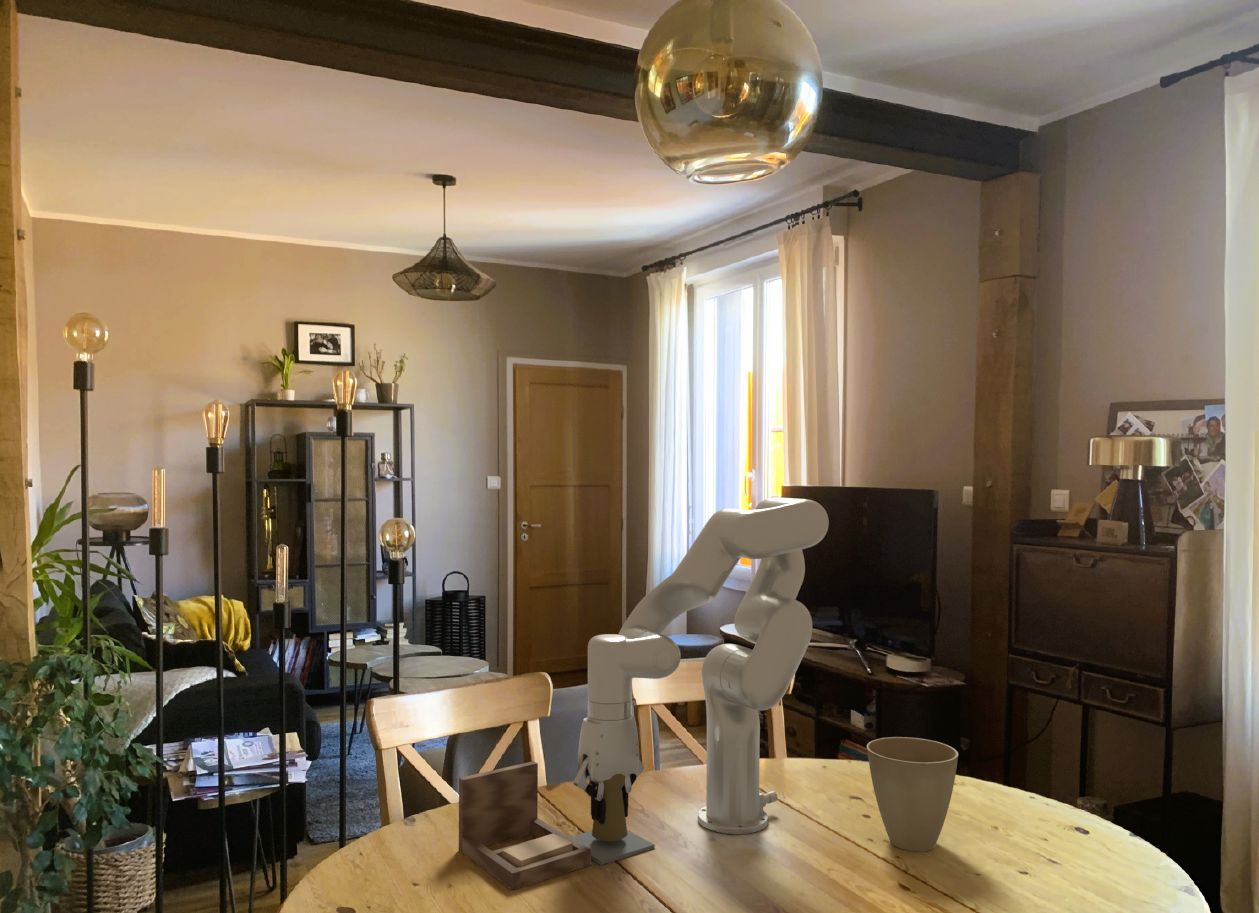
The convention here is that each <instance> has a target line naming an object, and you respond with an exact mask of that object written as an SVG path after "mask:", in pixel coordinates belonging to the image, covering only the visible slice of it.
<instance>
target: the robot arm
mask: <svg viewBox="0 0 1259 913" xmlns="http://www.w3.org/2000/svg"><path fill="white" fill-rule="evenodd" d="M829 521H830V520H829V517H828V513H827V510H826V509H825V508H824V507H823V506H822V505H821V503H819V502H817V501H814V500H812V499H807V498H794V497H793V498H791V497H770V498H766V499H764V500H761V501H760V502H758V504H757V506H756V507H755V509H739V508H723V509H720V510H717V511H715V513H713V514H712V515H711V517H710V518H709V519H708V521H706V522H705V524H704V527H703V528H702V529H701V531H700V532H699V534H698V535H697V537H696V538H695V540H694V542H693V543H692V545H691V546H690V548H689V549H688V551H686V554H685V556H684V557H683V558H682V560H681V561H680V563H679V564H678V566H676V568H675V570H674V571H673V572H672V573H671V574H670V575H668V577H666V578H664V579H663V580H662V581H660V583H659V584H657V586H656V587H654V588H652V590H651V591H649V592H648V593H647V594H646V595H645V596H644V597H643V598H642V599H641V600H640V601H639V602H638V603H637V605H635V607H634V609H633V610H632V611H631V613H630V614H629V616H628V617H627V619H626V620H625V622H624V623H623V625H622V626H621V628H620V630H619V632H618V634H615V633H612V634H610V633H608V634H607V633H605V634H604V633H603V634H597V635H595V636H593V637H591V638H590V639H589V641H588V644H587V717H585V718H583V720H582V724H581V728H580V732H579V741H578V752H577V753H578V754H577V774H576V776H575V779H574V780H573V785H574V786H575V787H577V788H579V789H581V790H582V791H583V792H585V793H586V794H587V796H588V797H590V816H591V820H592V821H595V820H597V821H598V822H599V823H600V824H604V823H605V813H606V801H605V800H604V799H602V798H603V791H604V781H606V780H609V779H610V778H611V777H612V776H614V775H616V774H622V775H624V776H625V783H624V786H623V787H622V795H623V803H624V811H625V818H627V817H628V816H629V794H630V793H631V792H632V787H633V785H634V783H635V782H636V780H637V779H638V778H637V777H639V776H640V775H641V774H642V772H644V770H645V766H644V764H643V763H642V761H641V760H640V748H639V746H640V745H639V735H638V726H637V722H636V717H635V715H634V714H633V707H634V706H636V705H637V699H636V698H635V697H633V679H651V680H658V679H664V678H667V677H669V676H671V675H672V674H673V673H675V672H676V670H677V669H678V668H679V666H680V663H681V655H682V654H681V649H680V647H679V646H678V644H677V642H675V641H674V640H673V639H672V638H670V637H669V636H667V635H665V634H663V633H665V632H664V631H665V630H666V629H667V628H669V627H668V626H670V624H671V623H673V621H675V620H676V619H677V618H678V617H680V616H681V615H682V614H684V613H686V612H688V611H691V610H694V609H696V608H700V607H701V606H703V605H706V604H708V603H709V602H711V601H713V600H714V599H715V598H716V597H717V596H718V594H719V593H720V590H721V589H722V588H723V586H724V584H725V583H726V581H727V580H728V578H729V576H730V575H731V573H732V572H733V570H734V569H735V567H736V566H737V564H738V563H739V562H740V560H741V558H743V559H748V560H749V559H750V560H759V559H760V562H759V565H758V567H757V569H756V571H755V574H754V576H753V579H752V580H751V582H750V585H749V586H748V589H747V590H746V592H745V594H744V596H743V598H742V600H741V602H740V604H739V606H738V608H737V611H736V613H735V616H734V621H733V622H734V628H735V631H736V633H737V634H738V635H739V636H740V637H741V638H742V639H744V640H745V641H746V642H749V643H751V644H755V645H754V647H753V649H751V648H748V647H746V646H742V645H740V644H734V643H722V644H718V645H717V646H714V648H712V649H710V651H709V652H708V653H707V654H706V656H705V658H704V660H703V663H702V668H701V678H702V679H701V680H702V686H703V692H704V693H703V694H704V698H705V706H706V707H705V708H706V711H705V712H706V799H705V800H706V804H705V806H703V807H701V808H700V809H699V810H698V812H697V821H698V822H699V824H700V825H702V827H704V828H705V829H708V830H711V831H714V832H717V833H720V834H721V833H722V834H726V835H727V834H728V835H729V834H730V835H745V834H746V835H747V834H753V833H756V832H760V831H762V830H764V829H765V828H766V827H767V825H768V824H769V816H768V813H767V812H766V811H765V810H764V807H766V805H769V804H771V803H775V802H777V800H778V794H777V793H776V791H775V790H770V791H768V792H765V793H763V792H762V791H761V790H760V735H761V734H760V733H761V731H760V730H761V726H760V725H761V722H760V715H759V711H767V710H770V709H772V708H774V707H775V706H776V705H778V703H779V702H780V701H781V700H782V699H783V697H784V696H785V694H786V692H787V690H788V689H789V687H790V685H791V682H792V680H793V679H794V677H795V674H796V673H797V670H798V668H799V666H800V664H801V661H802V660H803V658H804V656H805V654H806V652H807V649H808V648H809V645H810V642H811V638H812V633H813V619H812V615H811V613H810V611H809V610H808V608H807V607H806V605H804V604H803V603H802V602H800V601H798V600H797V597H798V594H799V591H800V589H801V586H802V585H803V582H804V578H805V572H806V564H805V557H804V552H803V550H805V549H808V548H812V547H814V546H816V545H817V544H819V543H820V542H821V541H822V540H823V539H824V538H825V536H826V534H827V533H828V530H829V525H830V524H829V523H830V522H829ZM588 777H589V781H588V782H587V779H588ZM595 783H596V784H597V787H596V784H595Z"/></svg>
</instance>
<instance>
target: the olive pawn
mask: <svg viewBox="0 0 1259 913" xmlns="http://www.w3.org/2000/svg"><path fill="white" fill-rule="evenodd" d="M624 783H625V776H624V775H622V774H616V775H614V776H612V777H611V778H610V779H609V780H606V781H604V791H603V798H602V799H604V800H605V801H606V813H605V823H604V824H600V823H599V822H598V821H597V820H595V821H594V820H592V821H593V822H592V830H591V831H592V836H593V837H594V838H596V839H599V840H603V841H616V840H620V839H623V838H625V837H626V836H627V830H628V828H627V821H626V817H625V811H624V803H623V795H622V787H623V786H624ZM595 784H596V783H595ZM596 787H597V784H596Z"/></svg>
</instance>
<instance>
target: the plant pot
mask: <svg viewBox="0 0 1259 913" xmlns="http://www.w3.org/2000/svg"><path fill="white" fill-rule="evenodd" d="M866 751H867V758H868V765H869V766H868V767H869V772H870V777H871V780H872V781H871V782H872V786H873V791H874V796H875V799H876V802H877V806H878V810H879V814H880V816H881V819H882V822H883V823H882V824H883V825H884V828H885V832H886V834H887V836H888V839H889V842H890V843H891V845H893V846H894V847H895V848H898V849H901V850H905V851H909V852H910V851H911V852H921V853H922V852H928V851H931V850H933V849H934V848H935V847H936V844H937V842H938V840H939V837H940V836H941V832H942V829H943V827H944V824H945V820H946V818H947V815H948V811H949V807H950V803H951V799H952V795H953V792H954V786H955V780H956V774H957V767H958V761H959V759H958V758H959V752H958V751H957V750H956V748H954V747H952V746H950V745H948V744H947V743H946V744H945V743H944V742H940V741H936V740H931V739H926V738H919V737H907V736H905V737H903V736H891V737H889V736H888V737H881V738H877V739H874V740H871V741H869V742H868V743H867V744H866Z"/></svg>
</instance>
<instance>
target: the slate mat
mask: <svg viewBox="0 0 1259 913" xmlns="http://www.w3.org/2000/svg"><path fill="white" fill-rule="evenodd" d="M570 837H571V838H572V839H574V840H576V841H577V842H579V843H581V844H583V845H584V846H586V847H588V848H589V849H591V861H594V862H596V864H598V865H599V866H600V865H601V866H603V865H605V864H609V863H613V862H615V861H619V860H621V859H625V858H627V857H631V856H635V855H638V854H640V853H644V852H647V851H650V850H653V849H655V846H656V845H655V844H654V843H652V842H651V841H649V840H648V839H645V838H643V837H642V836H639V835H637V834H636V833H634V832H632V831H630V830H629V829H627V836H626V837H625V838H623V839H620V840H616V841H603V840H599V839H596V838H594V837H593V836H592V830H589V831H587V832H583V833H578V834H576V835H573V836H570Z"/></svg>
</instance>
